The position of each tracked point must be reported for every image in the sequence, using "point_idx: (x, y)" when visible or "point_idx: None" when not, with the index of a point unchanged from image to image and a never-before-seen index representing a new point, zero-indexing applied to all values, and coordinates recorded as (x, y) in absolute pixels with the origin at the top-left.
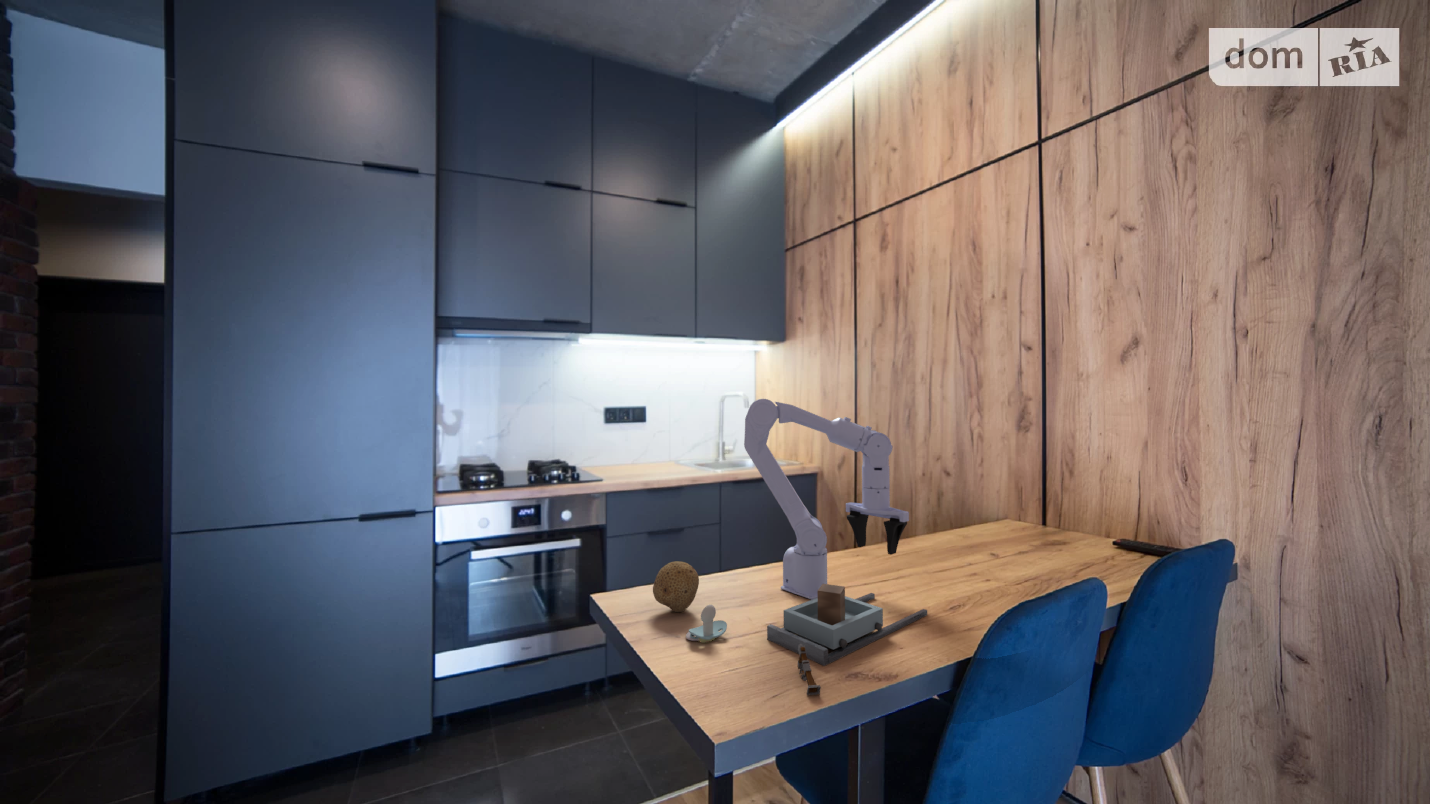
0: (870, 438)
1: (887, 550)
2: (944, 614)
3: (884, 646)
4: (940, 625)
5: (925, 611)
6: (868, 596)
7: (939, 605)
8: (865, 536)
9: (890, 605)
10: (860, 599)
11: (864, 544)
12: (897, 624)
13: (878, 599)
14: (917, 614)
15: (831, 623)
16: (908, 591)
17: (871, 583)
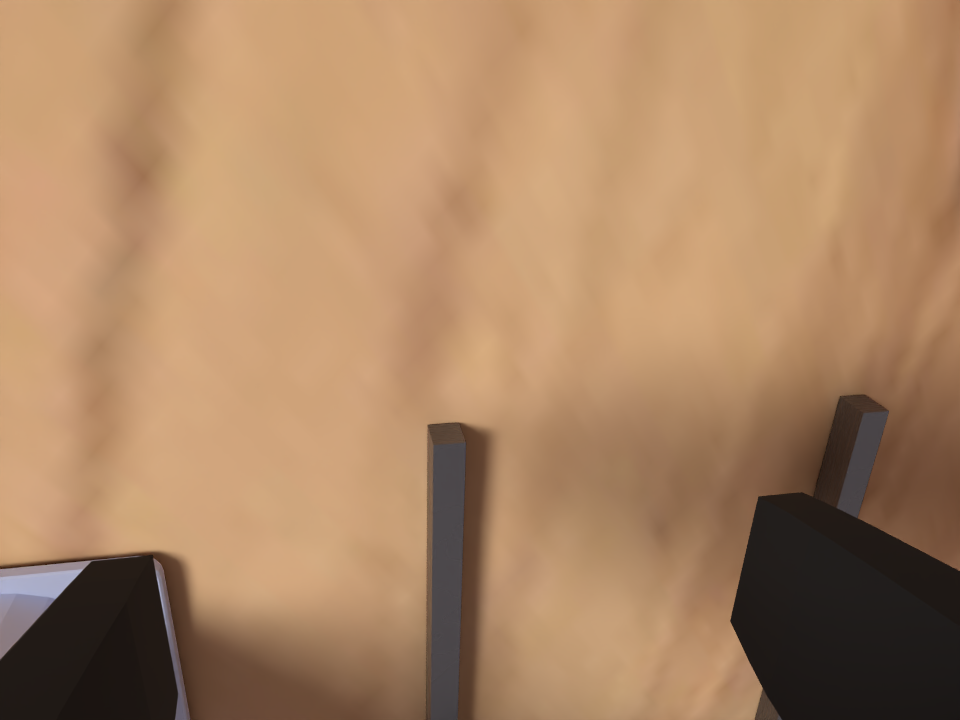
0: None
1: (762, 682)
2: (951, 294)
3: None
4: (956, 460)
5: (880, 430)
6: (462, 514)
7: (893, 157)
8: (84, 698)
9: (613, 438)
10: (460, 601)
11: (149, 599)
12: None
13: (488, 412)
14: (856, 515)
15: None
16: (575, 26)
17: (164, 100)
